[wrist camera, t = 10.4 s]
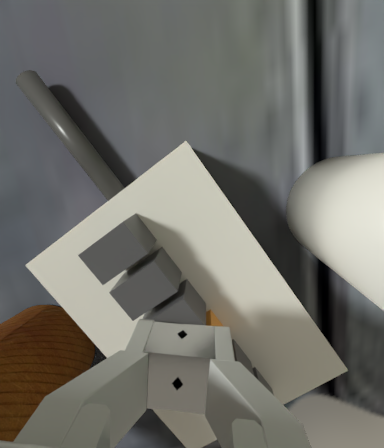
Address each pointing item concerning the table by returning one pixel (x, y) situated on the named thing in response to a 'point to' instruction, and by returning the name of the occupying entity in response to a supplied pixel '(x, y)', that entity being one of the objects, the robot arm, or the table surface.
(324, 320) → the table surface
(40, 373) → the disposable coffee cup
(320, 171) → the white hollow cylinder
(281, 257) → the table surface
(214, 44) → the table surface
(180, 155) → the power strip
